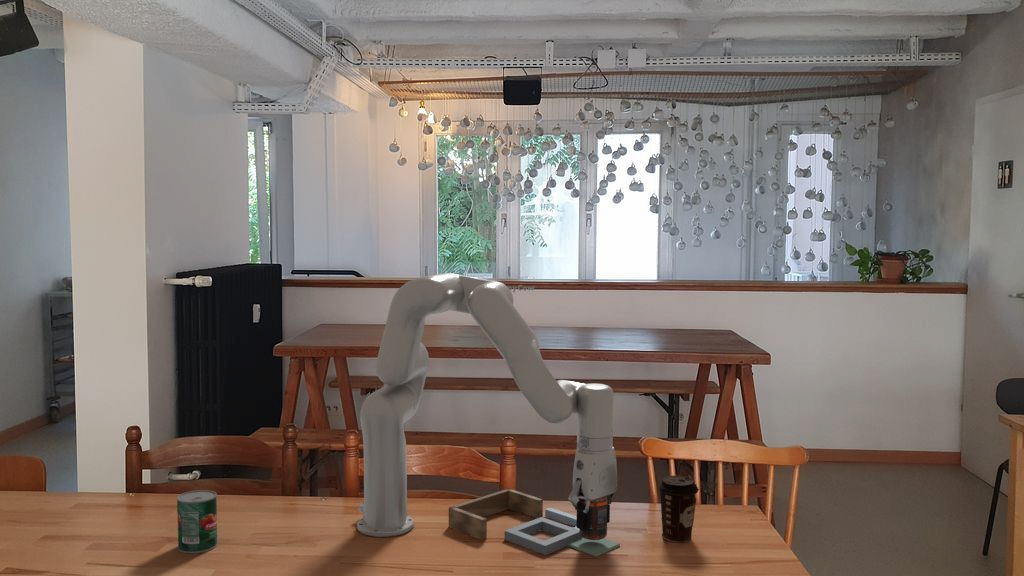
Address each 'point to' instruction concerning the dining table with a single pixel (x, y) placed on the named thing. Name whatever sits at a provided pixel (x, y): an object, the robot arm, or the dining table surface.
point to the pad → (593, 546)
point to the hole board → (524, 538)
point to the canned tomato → (197, 521)
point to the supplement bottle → (596, 520)
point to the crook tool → (561, 516)
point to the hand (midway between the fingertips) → (593, 524)
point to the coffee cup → (677, 507)
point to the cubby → (491, 510)
